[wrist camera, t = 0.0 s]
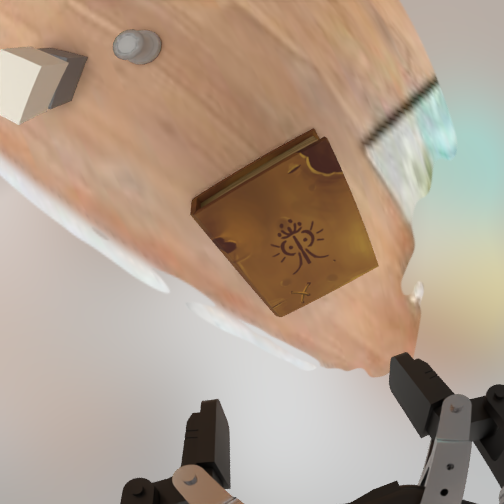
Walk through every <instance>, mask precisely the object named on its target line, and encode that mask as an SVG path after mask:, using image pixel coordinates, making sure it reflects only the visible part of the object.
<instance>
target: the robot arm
mask: <svg viewBox="0 0 504 504" xmlns="http://www.w3.org/2000/svg"><path fill="white" fill-rule="evenodd" d="M389 385H390V389H391V392H392V393H393V395H394V396H395V398H396V399H397V401H398V403H399V404H400V406H401V407H402V409H403V410H404V412H405V413H406V415H407V417H408V418H409V420H410V421H411V423H412V424H413V426H414V428H415V429H416V431H417V432H418V434H419V435H420V437H421V438H423V437H425V436H427V435H430V437H431V441H430V445H429V449H428V453H427V457H426V461H425V465H424V468H423V472H422V475H421V478H420V480H419V483H418V485H401V486H399V484H398V482H397V481H395V482H392V483H390V484H387V485H384V486H382V487H379V488H376V489H373V490H372V491H370V492H368V493H367V494H365V495H363V496H362V497H360V498H358V499H356V500H354V501H353V502H351V503H347V504H476V503H472V502H469V501H465V500H462V498H463V494H464V489H465V484H466V479H467V473H468V468H469V461H470V454H471V445H472V441H473V442H474V444H475V445H476V446H477V448H478V450H479V452H480V453H481V455H482V456H483V458H484V459H485V461H486V463H487V465H488V466H489V468H490V469H491V471H492V473H493V474H494V476H495V478H496V480H497V481H498V483H499V484H500V486H501V488H502V490H501V491H500V494H499V501H500V503H499V504H504V385H500V384H499V385H494V386H492V387H490V388H489V389H488V391H487V393H486V396H483V397H478V398H474V399H469V398H468V397H466V396H464V395H461V394H454V393H453V392H452V391H451V390H450V389H449V387H448V386H447V385H446V384H445V383H444V382H443V380H442V379H441V378H440V377H439V376H437V374H436V372H435V371H433V369H432V368H431V367H430V366H429V365H428V363H426V362H424V361H422V360H420V359H416V360H414V359H413V358H412V357H411V356H410V355H409V354H408V353H407V352H405V353H402V354H399V355H397V356H394V357H392V358H391V362H390V375H389ZM229 441H230V438H229V426H228V422H227V419H226V416H225V414H224V412H223V409H222V406H221V404H220V401H219V400H218V399H215V400H207V401H202V402H201V410H200V413H192V415H191V416H190V418H189V419H188V421H187V425H186V433H185V440H184V448H183V456H182V463H181V467H180V468H179V469H177V470H176V471H175V473H174V474H173V476H172V477H170V478H168V479H165V480H161V481H158V482H154V483H151V482H150V481H149V480H147V479H145V478H136V479H132V480H130V481H129V482H127V484H126V485H125V486H124V488H123V492H122V497H121V503H120V504H244V503H242V502H241V501H240V500H239V499H237V498H236V497H235V498H234V497H232V496H231V495H230V494H229V493H228V492H227V491H226V490H225V489H230V442H229Z"/></svg>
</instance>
